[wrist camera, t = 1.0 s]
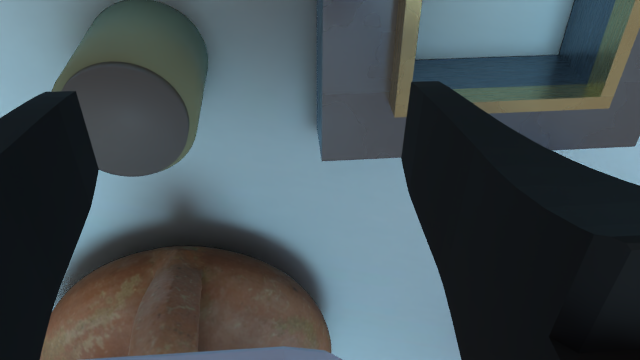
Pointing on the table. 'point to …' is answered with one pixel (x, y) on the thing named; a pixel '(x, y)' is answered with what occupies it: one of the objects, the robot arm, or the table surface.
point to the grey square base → (476, 79)
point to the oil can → (139, 86)
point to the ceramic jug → (182, 307)
